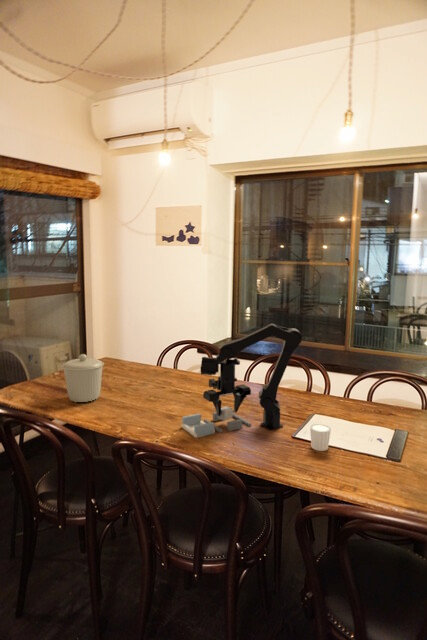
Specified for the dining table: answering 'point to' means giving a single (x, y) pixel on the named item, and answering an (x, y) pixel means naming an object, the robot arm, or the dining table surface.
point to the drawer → (197, 426)
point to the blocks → (229, 423)
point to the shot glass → (320, 437)
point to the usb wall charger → (226, 413)
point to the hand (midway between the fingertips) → (227, 413)
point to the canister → (83, 378)
